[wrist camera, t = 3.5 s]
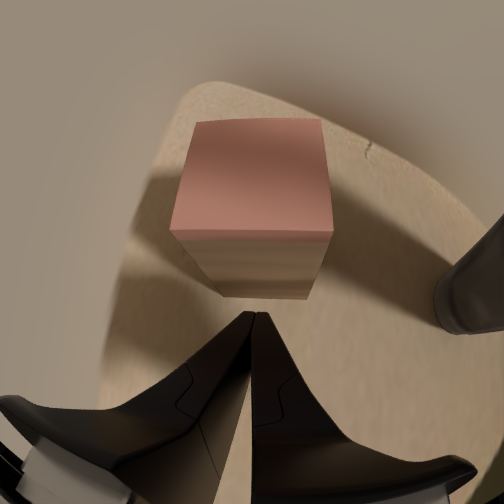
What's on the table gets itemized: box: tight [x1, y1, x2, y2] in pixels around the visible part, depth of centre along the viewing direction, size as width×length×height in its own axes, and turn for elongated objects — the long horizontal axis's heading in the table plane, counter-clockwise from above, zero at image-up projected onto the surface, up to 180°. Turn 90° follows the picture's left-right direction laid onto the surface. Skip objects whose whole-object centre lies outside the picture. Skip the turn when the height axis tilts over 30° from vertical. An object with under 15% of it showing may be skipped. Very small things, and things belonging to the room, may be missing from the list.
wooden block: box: [169, 118, 334, 300], centre depth 13 cm, size 5×5×9 cm
